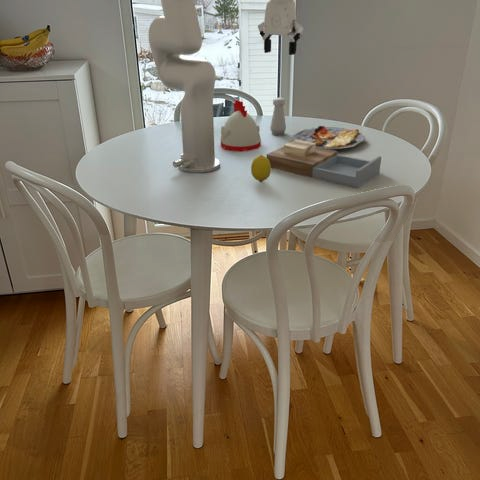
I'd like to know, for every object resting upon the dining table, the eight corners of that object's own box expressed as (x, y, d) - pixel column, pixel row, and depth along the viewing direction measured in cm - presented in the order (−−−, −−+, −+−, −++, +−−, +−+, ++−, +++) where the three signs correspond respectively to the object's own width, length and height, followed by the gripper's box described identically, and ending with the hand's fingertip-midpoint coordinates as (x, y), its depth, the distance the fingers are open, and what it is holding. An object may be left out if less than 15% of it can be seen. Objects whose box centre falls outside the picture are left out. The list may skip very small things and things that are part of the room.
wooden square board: (312, 177, 143) (313, 164, 141) (266, 166, 152) (266, 154, 150) (336, 163, 154) (337, 151, 152) (292, 154, 162) (292, 142, 160)
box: (357, 188, 136) (359, 171, 133) (312, 177, 143) (313, 161, 141) (379, 172, 146) (381, 156, 144) (336, 163, 154) (337, 148, 151)
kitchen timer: (248, 137, 180) (248, 95, 173) (268, 147, 170) (268, 102, 163) (213, 143, 175) (212, 99, 168) (231, 153, 164) (231, 107, 157)
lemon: (264, 187, 137) (265, 159, 133) (247, 183, 140) (247, 156, 136) (274, 181, 141) (274, 153, 138) (257, 177, 144) (257, 150, 140)
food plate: (315, 128, 189) (316, 119, 188) (374, 139, 178) (375, 129, 176) (281, 146, 172) (282, 136, 170) (344, 159, 160) (345, 149, 158)
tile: (303, 157, 147) (303, 149, 146) (283, 152, 151) (283, 144, 150) (315, 151, 152) (315, 143, 151) (295, 147, 156) (295, 139, 155)
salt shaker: (268, 135, 182) (269, 99, 176) (272, 131, 187) (272, 96, 181) (284, 136, 181) (285, 100, 175) (287, 132, 185) (288, 97, 179)
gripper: (252, -4, 161) (252, 52, 169) (299, -3, 151) (296, 56, 159) (265, -4, 166) (264, 50, 174) (311, -4, 157) (307, 54, 165)
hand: (279, 53), depth 167 cm, fingers open, 9 cm apart
